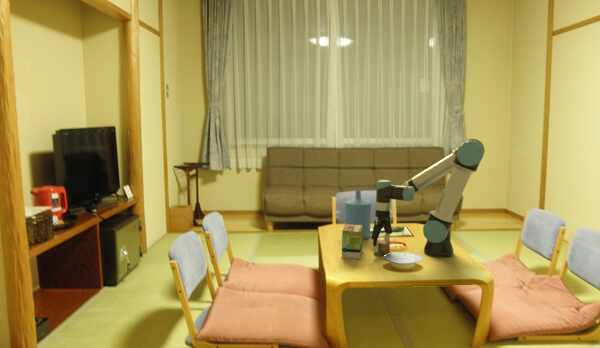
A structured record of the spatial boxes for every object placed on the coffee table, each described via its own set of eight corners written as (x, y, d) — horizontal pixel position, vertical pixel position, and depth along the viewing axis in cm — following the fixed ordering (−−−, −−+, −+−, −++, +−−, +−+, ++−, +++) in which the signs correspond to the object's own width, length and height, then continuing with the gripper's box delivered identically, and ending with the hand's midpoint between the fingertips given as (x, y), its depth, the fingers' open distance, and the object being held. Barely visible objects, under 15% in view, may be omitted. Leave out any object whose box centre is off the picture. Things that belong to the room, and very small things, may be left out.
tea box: (360, 259, 252) (361, 231, 250) (341, 258, 254) (341, 230, 252) (362, 250, 266) (363, 224, 264) (344, 249, 268) (344, 223, 266)
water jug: (368, 240, 286) (369, 193, 282) (342, 238, 290) (342, 192, 286) (372, 233, 301) (372, 189, 297) (346, 232, 305) (347, 187, 301)
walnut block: (389, 253, 261) (390, 241, 260) (384, 256, 256) (384, 243, 255) (379, 252, 264) (379, 239, 263) (374, 254, 259) (374, 242, 258)
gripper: (386, 204, 268) (385, 241, 272) (365, 212, 248) (363, 252, 252) (399, 206, 264) (397, 244, 267) (378, 214, 244) (376, 255, 247)
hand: (381, 248), depth 260 cm, fingers open, 13 cm apart
